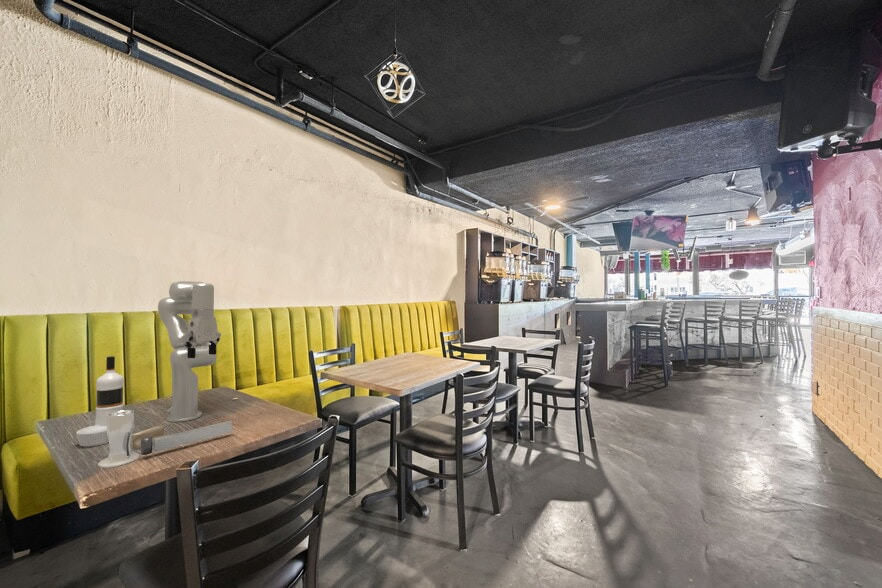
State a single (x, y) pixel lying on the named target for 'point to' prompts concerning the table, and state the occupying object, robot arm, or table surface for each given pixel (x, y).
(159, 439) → the bar
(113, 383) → the vodka
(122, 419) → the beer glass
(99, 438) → the ramekin
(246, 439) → the table surface
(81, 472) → the table surface
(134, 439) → the block
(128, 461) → the white disc
